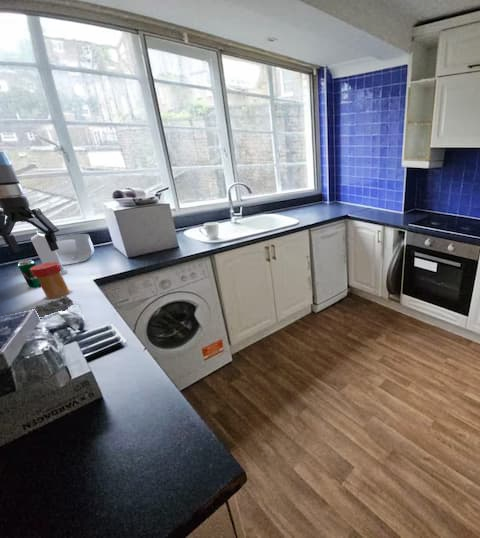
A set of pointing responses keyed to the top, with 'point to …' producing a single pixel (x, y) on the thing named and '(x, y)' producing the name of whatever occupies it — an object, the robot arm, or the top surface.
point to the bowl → (74, 248)
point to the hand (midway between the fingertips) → (36, 251)
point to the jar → (53, 285)
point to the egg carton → (53, 306)
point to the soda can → (28, 273)
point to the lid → (45, 269)
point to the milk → (45, 250)
